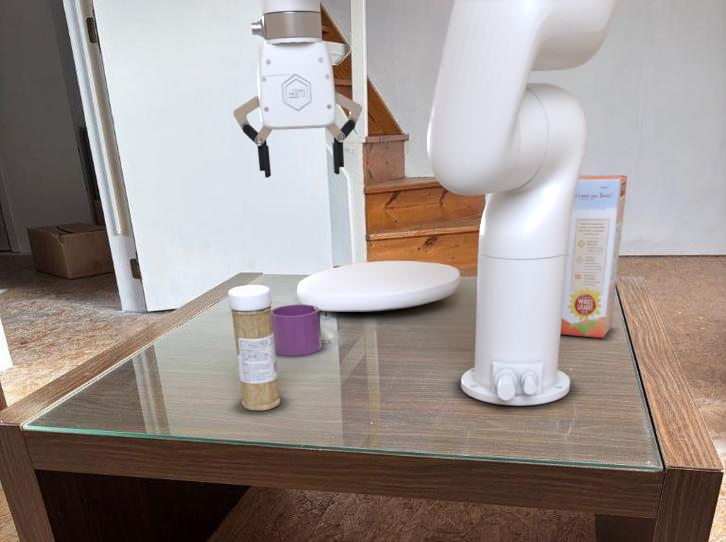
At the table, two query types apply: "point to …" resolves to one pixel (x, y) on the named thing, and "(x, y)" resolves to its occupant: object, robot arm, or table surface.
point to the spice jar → (255, 346)
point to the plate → (378, 286)
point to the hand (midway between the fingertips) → (302, 175)
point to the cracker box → (593, 255)
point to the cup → (296, 329)
